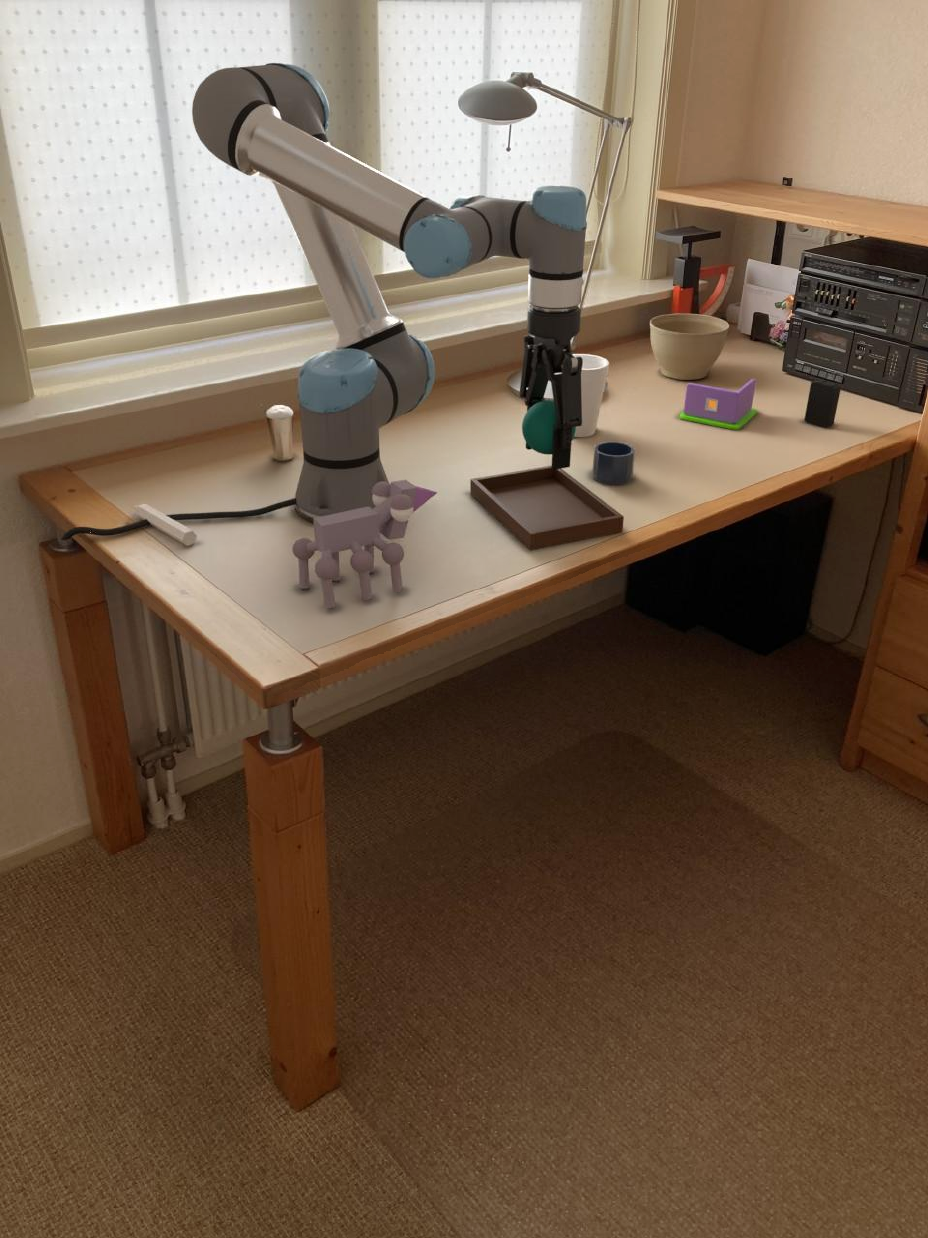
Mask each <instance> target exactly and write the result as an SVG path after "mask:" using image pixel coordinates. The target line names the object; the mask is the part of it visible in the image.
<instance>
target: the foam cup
mask: <svg viewBox="0 0 928 1238" xmlns="http://www.w3.org/2000/svg"><path fill="white" fill-rule="evenodd" d="M572 355H573V356H574V357H582V359H583V364H582V371H581V398H582V425H581V426H578V427H576V430H575V435H574V438H585V437H586V438H587V437H591V436H593V435H595V433H596V429H597V426H598V421H599V416H600V411H601V407H602V403H603V398H604V394H605V393H604V392H605V387H606V383H607V379H608V377H609V371H610V362H609V360H608V359H607V358H605V357H602V356H600V355H595V354H588V353H572ZM554 374H562V372H561V373H554Z"/></svg>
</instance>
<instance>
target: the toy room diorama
mask: <svg viewBox="0 0 928 1238" xmlns="http://www.w3.org/2000/svg"><path fill="white" fill-rule="evenodd" d="M756 384H757V379H755V378H751V379H750V380H749V381H748V382H746V383H745V384H744V385H743V386H742V387H740V388H739V389H738V390H737V391H735V390H732V389H725V388H721V387H715V386H710V385H706V384H705V385H704V384H699V383H695V382H694V383H693V382H688V383H687V384H686V389H685V397H684V406H683V411H681V413H680V414H679V419H681V420H684V421H689V422H694V423H698V424H703V425H708V426H714V427H717V428H723V429H728V430H735V431H737V430H740V429H741V428H742V427H743V426H745V425H746V424H748V422H749V421H750V420H752V418H753V417H755V416H756V415H757V414H758V409H756V408H754V407H753V403H754V396H755V390H756Z"/></svg>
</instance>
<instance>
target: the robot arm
mask: <svg viewBox="0 0 928 1238" xmlns="http://www.w3.org/2000/svg"><path fill="white" fill-rule="evenodd" d="M191 109H192V110H191V115H192V123H193V126H194V130H195V132H196V135H197V137H198V139H199V140H200V142H201V144H203V146H204V147H205V148H206V149H207V151H209V152H210V154H212V155H213V156H214V157H216V158H217V160H220V161H221V162H223V163H225V164H226V165H227V166H230V167H231V168H233V169H235V170H237V171H239V172H240V173H242V174H244V175H247V176H250V177H253V176H257V175H258V176H259V178H262V179H264V180H266V181H269V182H270V183H272V184H273V185H274V188H275V190H276V192H277V193H276V194H277V195H278V197H279V200H280V202H281V203H282V206H283V209H284V211H285V213H286V215H287V217H288V220H289V223H290V225H291V227H292V229H293V232H294V235H295V236H296V238H297V241H298V244H299V245H300V249H301V251H302V253H303V255H304V257H305V259H306V262H307V264H308V266H309V270H310V271H311V273H312V276H313V278H314V280H315V284H316V286H317V287H318V289H319V292H320V294H321V296H322V299H323V301H324V304H325V307H326V309H327V311H328V313H329V315H330V317H331V320H332V323H333V325H334V326H335V329H336V331H337V333H338V337H337V342H336V344H335V347H334V349H332V351H327V350H325V351H322V352H319V353H316V354H314V355H313V356H310V357H309V358H308V359H306V361H304V362H303V363H302V365H301V367H300V368H299V370H298V379H297V380H298V382H297V383H298V386H297V397H298V398H297V399H298V402H299V405H298V406H299V414H300V415H299V416H300V429H301V441H302V453H303V464H302V467H301V471H300V474H299V478H298V482H297V485H296V490H295V495H294V497H293V498H290V499H287V500H283V501H280V502H276V503H273V504H270V505H267V506H264V507H260V508H255V509H248V510H239V511H238V510H236V511H235V510H233V511H208V512H188V513H172V514H165V515H166V516H168V517H170V518H171V519H173V520H175V521H189V520H190V521H193V520H211V519H212V520H213V519H238V518H251V517H256V516H262V515H265V514H268V513H272V512H275V511H277V510H280V509H281V510H282V509H285V508H288V507H292V506H295V511H296V513H297V514H298V515H299V516H300V517H301V518H302V519H305V520H306V521H308V522H310V523H314V521H313V518H317V517H322V516H326V515H331V514H336V513H340V512H345V511H350V510H354V509H359V508H364V507H368V506H369V507H371V508H372V509H373V508H374V507H376V506H375V504H374V503H373V499H372V497H373V493H372V489H373V487H374V486H375V485H376V484H377V483H379V482H387V483H389V484H390V482H389V478H388V476H387V474H386V471H385V468H384V466H383V463H382V460H381V454H380V453H381V452H380V429H381V428H382V427H384V426H386V425H388V424H389V423H391V422H393V421H395V420H396V419H398V418H399V417H402V416H403V415H405V414H408V413H411V412H413V411H414V410H415V409H416V408H418V406H419V405H420V404H422V403H423V402H424V401H425V400H426V399H427V398H428V397H429V395H430V393H431V392H432V390H433V386H434V383H435V379H436V367H435V361H434V359H433V355H432V353H431V350H430V349H429V347H428V346H427V345H426V343H424V342H423V341H422V340H420V339H418V338H417V337H416V336H415V335H413V334H410V333H409V332H408V330H407V328H406V325H405V323H404V321H403V319H401V318H399V317H397V316H396V315H393V314H391V313H390V312H389V310H388V308H387V305H386V302H385V300H384V298H383V295H382V293H381V291H380V288H379V286H378V283H377V281H376V279H375V275H374V274H373V271H372V269H371V267H370V264H369V262H368V259H367V256H366V254H365V252H364V250H363V248H362V245H361V242H360V240H359V237H358V235H357V233H356V231H355V227H356V228H357V227H358V228H359V229H360V230H363V231H365V232H366V233H368V234H370V235H372V236H374V237H376V238H377V239H380V240H382V241H383V242H385V243H387V244H389V245H390V246H392V247H394V248H396V249H397V250H399V251H401V252H403V253H404V255H405V258H406V261H407V262H408V264H409V265H410V266H411V268H412V269H413V271H414V272H415V273H417V274H418V275H419V276H421V277H423V278H425V279H426V278H427V279H440V278H443V277H444V278H445V277H450V276H452V275H456V274H457V273H459V272H461V271H463V270H465V269H466V268H469V267H472V266H473V265H476V264H480V263H482V262H484V261H486V260H488V259H491V258H493V257H505V258H514V259H521V260H526V259H527V260H528V281H527V303H528V304H529V306H528V307H527V313H526V316H527V317H526V331H527V333H528V334H527V335H524V336H523V358H522V359H523V360H522V367H521V377H520V386H519V398H521V399H524V405H525V406H526V412H527V411H528V410H529V409H530V408H531V407H532V406H533V405H535V404H536V403H538V402H541V401H545V400H546V399H545V394H546V390H547V387H548V384H549V382H550V385H551V391H552V400H554V407H555V414H556V421H557V425H553V447H552V454H551V466H552V469H554V470H555V469H567V468H570V467H571V458H572V457H571V455H572V441H573V440H572V429H573V427H578V426H581V425H582V398H581V371H582V364H583V359H582V357H574V356H573V355H572V354H573V348H572V342H571V341H572V339H573V338H574V337H576V336H578V335H579V333H580V332H581V317H582V315H581V314H582V309H581V308H580V306H579V305H580V304H581V303H582V294H583V293H582V291H583V285H584V280H583V275H584V259H585V247H586V236H587V229H588V223H587V222H588V221H587V196H586V194H585V192H584V191H583V190H582V189H580V188H578V187H576V186H575V187H574V186H568V185H543V186H538V187H536V188H534V189H533V190H532V192H531V197H530V200H516V199H510V198H509V199H507V198H499V197H497V198H496V197H489V196H485V195H480V194H479V195H474V196H473V195H462V196H459V197H457V198H456V199H454V202H453V204H452V205H450V207H449V208H448V207H446V206H445V205H442V204H440V203H438V202H436V201H435V200H432V199H431V198H429V197H428V196H426V195H424V194H422V193H420V192H418V191H416V190H414V189H412V188H411V187H409V186H407V185H405V184H403V183H401V182H399V181H398V180H395V179H394V178H392V177H390V176H388V175H386V174H384V173H382V172H380V171H379V170H377V169H375V168H373V167H371V166H369V165H367V164H366V163H364V162H361V161H360V160H358V159H356V158H354V157H352V156H351V155H349V154H347V153H345V152H343V151H342V150H339V149H337V148H335V147H334V146H332V145H331V144H330V141H329V138H328V137H327V134H326V132H327V131H328V128H329V122H328V120H329V118H330V106H329V101H328V99H327V96H326V93H325V91H324V90H323V88H322V85H321V84H320V83H319V82H318V80H317V79H316V78H315V77H314V76H313V75H312V74H311V73H310V72H308V71H307V70H305V69H304V68H302V67H300V66H297V65H295V64H287V63H286V64H285V63H282V62H269V63H265V64H261V65H260V64H259V65H250V66H240V67H224V68H221V69H218V70H215V71H214V72H212V73H210V74H209V75H207V76H205V78H204V79H203V80H202V81H201V83H200V84H199V86H198V87H197V89H196V91H195V93H194V97H193V100H192V107H191ZM354 226H355V227H354ZM561 372H562V374H555V373H561ZM525 449H526V450H533V449H532V448H531V447H530V446H529V445H528V444H527V443H526V442H525ZM147 526H152V525H151V523H150V522H149V521H148V520H147V519H145V520H142V519H140V520H138V521H136V522H133V523H129V524H126V525H123V526H117V527H113V528H97V527H89V526H76V527H72V528H70V529H69V530H67V531H66V532H65V533H64V534H63V535H62V536H61V539H60V540H61V541H67V540H70V539H72V537H74V536H76V535H78V534H85V535H86V534H87V535H93V536H101V537H104V536H105V537H108V536H109V537H110V536H117V535H121V534H125V533H128V532H132V531H134V530H138V529H141V528H143V527H147ZM90 532H91V533H90Z"/></svg>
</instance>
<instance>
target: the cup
mask: <svg viewBox="0 0 928 1238" xmlns="http://www.w3.org/2000/svg"><path fill="white" fill-rule="evenodd" d="M635 455H636V450H635V447H634V446H632V445H631V444H629V443H625V442H623V441H622V442H621V441H603V442H600V443H597V444H595V446H594V447H593V459H592V460H593V461H592V478H593V479H594V480H595V481H597V482H598V483H600V484H604V485H613V486H614V485H615V486H619V485H625V484H628V483H630V482H631V481H632V480H633V476H634V466H635V458H636V457H635Z"/></svg>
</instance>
